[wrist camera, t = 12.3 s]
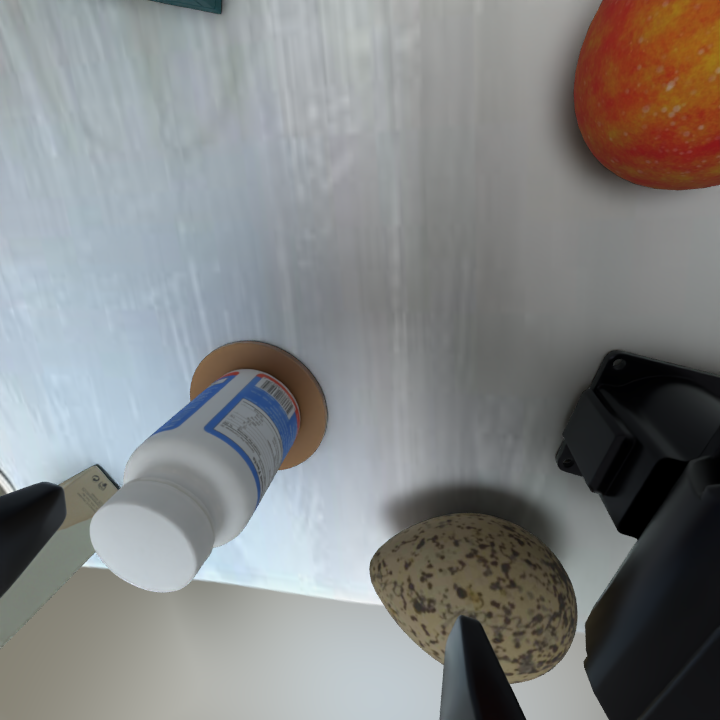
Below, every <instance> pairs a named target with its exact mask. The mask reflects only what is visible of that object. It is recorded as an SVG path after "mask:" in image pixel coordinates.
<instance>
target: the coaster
mask: <svg viewBox="0 0 720 720" xmlns="http://www.w3.org/2000/svg"><path fill="white" fill-rule="evenodd" d="M239 369H253V370H258V371H262V372H265V373H267V374H269V375H271V376H273V377H274V378H276V379H277V380H279V381H280V382H281V383H283V384H284V385H285V386H286V387H287V388H288V389H289V391H290V392H291V393H292V395H293V396H294V398H295V400H296V402H297V404H298V407H299V411H300V428H299V432H298V435H297V437H296V439H295V441H294V443H293V445H292V447H291V448H290V450H289V452H288V453H287V455H286V457H285V459H284V460H283V462H282V464H281V466H280V467H279V469H278V470H284V469H288V468H291V467H294V466H297V465H299V464H300V463H302V462H304V461H305V460H307V459H308V458H309V457H310V456H311V455H312V454H313V453H314V452H315V451H316V449H317V448H318V447H319V445H320V443H321V441H322V439H323V437H324V434H325V431H326V427H327V407H326V402H325V398H324V395H323V393H322V390H321V388H320V386H319V384H318V383H317V381H316V379H315V378H314V376H313V375H312V374H311V372H310V371H309V370H308V369H307V368H306V367H305V366H304V365H303V364H302V363H301V362H300V361H299V360H297V359H296V358H295V357H294V356H292V355H290V354H289V353H287V352H286V351H284V350H282V349H280V348H277V347H275V346H272V345H269V344H266V343H261V342H255V341H239V342H234V343H229V344H227V345H224V346H221V347H220V348H218V349H216V350H214V351H213V352H211V353H210V354H209V355H208V356H206V357H205V358H204V359H203V360H202V362H201V363H200V364H199V366H198V367H197V369H196V371H195V373H194V375H193V378H192V382H191V388H190V401H192V400H193V399H195V398H196V397H197V396H198V395H199V394H201V393H202V392H203V391H204V390H205V389H206V388H208V387H209V386H210V385H211V384H212V383H213V382H215V381H216V380H217V379H219V378H220V377H222V376H223V375H225V374H227V373H229V372H231V371H234V370H239Z"/></svg>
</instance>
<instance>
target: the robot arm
mask: <svg viewBox="0 0 720 720" xmlns="http://www.w3.org/2000/svg"><path fill="white" fill-rule="evenodd" d="M617 359H622V363H621V364H620V365H618V366H613V362H614V361H615V360H617ZM563 437H564V441H563V443H562V445H561V447H560V449H559V451H558V453H557V455H556V463H557V465H558V467H559V468H560V469H561V470H562V471H565V472H568V473H572V474H575V475H579V476H582V477H584V479H585V481H586V483H587V485H588V487H589V489H590V491H591V492H594V493H597V494H599V496H600V497H601V499H602V501H603V503H604V505H605V507H606V509H607V511H608V513H609V515H610V517H611V519H612V521H613V523H614V524H615V526H616V528H617V530H618V532H620V533H621V534H624V535H628V536H631V537H634V538H636V539H637V542H636V543H635V545H634V546H633V548H632V549H631V551H630V552H629V554H628V555H627V557H626V558H625V560H624V562H623V563H622V565H621V566H620V568H619V569H618V571H617V572H616V574H615V575H614V577H613V578H612V580H611V581H610V583H609V584H608V586H607V587H606V589H605V590H604V592H603V593H602V595H601V596H600V598H599V599H598V601H597V602H596V604H595V605H594V607H593V609H592V611H591V613H590V615H589V617H588V619H587V621H586V623H585V633H586V652H587V657H586V659H585V660H584V668H585V670H586V673H587V676H588V678H589V681H590V684H591V687H592V689H593V692H594V694H595V696H596V697H597V699H598V701H599V703H600V705H601V706H602V708H603V710H604V712H605V713H606V715H607V717H608V719H609V720H720V375H716V374H712V373H708V372H704V371H700V370H696V369H692V368H688V367H684V366H680V365H676V364H672V363H668V362H664V361H660V360H656V359H652V358H648V357H644V356H640V355H636V354H632V353H628V352H624V351H619V350H616V351H612V352H610V353H608V354H607V355H606V357H605V358H604V360H603V362H602V364H601V366H600V368H599V370H598V372H597V374H596V376H595V378H594V380H593V382H592V384H591V386H590V388H589V389H587V390H585V391H584V392H583V393H582V395H581V397H580V399H579V401H578V403H577V405H576V407H575V409H574V411H573V413H572V415H571V417H570V419H569V422H568V424H567V426H566V428H565V430H564V432H563ZM567 459H571V461H570V462H568V463H564V461H565V460H567ZM66 515H67V509H66V501H65V492H64V489H63V488H62V487H61V486H59V485H56V484H53V483H50V482H41V483H37V484H34V485H32V486H29V487H26V488H23V489H20V490H17V491H14V492H11V493H9V494H6V495H3V496H0V598H1V597H2V596H3V595H4V594H5V593H6V592H7V591H8V589H9V588H10V587H11V586H12V585H13V584H14V583H15V581H16V580H17V579H18V578H19V577H20V575H21V574H22V573H23V572H24V571H25V569H26V568H27V567H28V566H29V564H30V563H31V562H32V561H33V560H34V558H35V557H36V556H37V555H38V553H39V552H40V551H41V550H42V549H43V547H44V546H45V545H46V544H47V542H48V541H49V540H50V539H51V537H52V536H53V535H54V534H55V533H56V531H57V530H58V529H59V528H60V526H61V525H62V524H63V522H64V520H65V518H66ZM440 720H526V718H525V716H524V714H523V711H522V709H521V707H520V705H519V703H518V701H517V699H516V697H515V694H514V692H513V690H512V688H511V686H510V684H509V682H508V680H507V677H506V675H505V673H504V671H503V669H502V667H501V665H500V662H499V660H498V658H497V656H496V654H495V652H494V650H493V648H492V645H491V643H490V641H489V639H488V637H487V635H486V633H485V631H484V628H483V626H482V624H481V623H480V622H479V621H478V620H477V619H475V618H471V617H468V616H465V615H459V616H458V617H457V619H456V621H455V623H454V625H453V628H452V630H451V632H450V634H449V636H448V639H447V642H446V647H445V657H444V669H443V683H442V695H441V708H440Z"/></svg>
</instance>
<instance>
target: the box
mask: <svg viewBox="0 0 720 720" xmlns="http://www.w3.org/2000/svg"><path fill="white" fill-rule="evenodd" d="M59 486H61V487H62V488H63V489H64V492H65V501H66V509H67V515H66V518H65V520H64V522H63V524H62V525H61V526H60V528H59V529H58V530H57V531H56V533H55V534H54V535H53V536H52V537H51V539H50V540H49V541H48V542H47V544H46V545H45V546H44V547H43V549H42V550H41V551H40V552H39V553H38V555H37V556H36V557H35V558H34V560H33V561H32V562H31V563H30V564H29V566H28V567H27V568H26V569H25V571H24V572H23V573H22V574H21V575H20V577H19V578H18V579H17V580H16V581H15V583H14V584H13V585H12V586H11V587H10V588H9V589H8V591H7V592H6V593H5V594H4V595H3V596H2V597H1V598H0V649H1V648H2V647H3V646H4V645H5V644H6V643H7V642H8V641H9V640H10V639H11V638H12V637H13V636H14V635H15V634H16V633H17V632H18V631H19V630H20V629H21V628H22V627H23V626H24V625H25V624H26V622H28V621H29V620H30V619H31V618H32V617H33V615H34V614H35V613H36V612H37V611H38V610H39V609H40V608H41V607H42V606H43V605H44V604H45V603H46V602H47V601H48V600H49V599H50V598H51V597H52V596H53V595H54V594H55V593H56V592H57V591H58V590H59V589H60V588H61V587H62V586H63V585H64V584H65V583H66V581H68V580H69V579H70V577H72V576H73V575H74V573H75V572H76V571H77V570H78V569H79V568H80V567H81V566H82V565H83V564H84V563H85V562H86V561H87V560H88V559H89V558H90V557H91V556H92V555H93V554H94V553H95V552H96V551H95V549H94V547H93V545H92V542H91V538H90V523H91V520H92V518H93V516H94V514H95V513H96V512H97V511H98V510H99V509H100V508H101V507H102V506H103V505H104V504H105V503H106V502H107V501H108V500H109V499H110V498H111V497H112V496H113V495H114V494H115V493H116V492H117V491H118V489H117V488H116V487H115V486H114V485H113V483H112V482H111V481H110V480H109V479H108V478H107V477H106V476H105V475H104V474H103V472H102V471H101V470H100V469H99V468H98V467H97V466H92V467H90V468H88V469H86V470H84V471H82V472H81V473H79V474H77V475H75V476H73V477H71V478H70V479H68V480H66V481H64V482H63V483H61V484H59Z"/></svg>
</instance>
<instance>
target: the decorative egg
mask: <svg viewBox="0 0 720 720" xmlns="http://www.w3.org/2000/svg"><path fill="white" fill-rule="evenodd" d="M369 570H370V577H371V582H372V584H373V587H374V589H375V591H376V593H377V595H378V596H379V598H380V599H381V601H382V603H383V604H384V606H385V608H386V609H387V610H388V612H389V613H390V615H391V616H392V617H393V619H394V620H395V621H396V623H397V624H398V625H399V626H400V627H401V629H402V630H403V631H404V632H405V633H406V634H407V635H408V636H409V637H410V638H411V639H412V640H413V641H414V642H415V643H416V644H417V645H418V646H419V647H420V648H422V649H423V650H424V651H425V652H426V653H428V654H429V655H430V656H431V657H433V658H434V659H435V660H437V661H439V662H440V663H441V664H443V665H444V657H445V647H446V642H447V639H448V636H449V634H450V632H451V630H452V628H453V625H454V623H455V621H456V619H457V617H458V616H459V615H465V616H468V617H471V618H475V619H477V620H478V621H479V622H480V623H481V624H482V626H483V628H484V631H485V633H486V635H487V637H488V639H489V641H490V643H491V645H492V648H493V650H494V652H495V654H496V656H497V658H498V660H499V662H500V665H501V667H502V669H503V671H504V673H505V675H506V677H507V680H508V682H509V684H513V683H519V682H525V681H529V680H532V679H535V678H537V677H539V676H541V675H544V674H545V673H546V672H549V671H550V670H551V669H553V668H554V667H555V666H556V664H558V663H559V662H560V661H561V660H562V659H563V657H564V656H565V655H566V653H567V651H568V649H569V648H570V646H571V643H572V641H573V638H574V635H575V631H576V626H577V603H576V597H575V593H574V589H573V586H572V583H571V581H570V579H569V577H568V574H567V573H566V571H565V569H564V568H563V566H562V564H561V563H560V561H559V560H558V559H557V557H556V556H555V555H554V553H553V552H552V551H551V550H550V549H549V548H548V547H547V546H546V545H545V544H544V543H543V542H542V541H541V540H540V539H538V538H537V537H536V536H534V535H533V534H531V533H530V532H528V531H527V530H525V529H524V528H522V527H520V526H518V525H516V524H514V523H512V522H510V521H507V520H504V519H501V518H498V517H495V516H491V515H485V514H479V513H456V514H448V515H443V516H438V517H435V518H432V519H428V520H426V521H423V522H420V523H418V524H416V525H414V526H411V527H409V528H408V529H406V530H404V531H402V532H400V533H398V534H397V535H395V536H394V537H392V538H391V539H389V540H388V541H387V542H386V543H385V544H384V545H382V546H381V547H380V548H379V549H378V550H377V552H376V553H375V554H374V556H373V558H372V559H371V562H370V568H369Z"/></svg>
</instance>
